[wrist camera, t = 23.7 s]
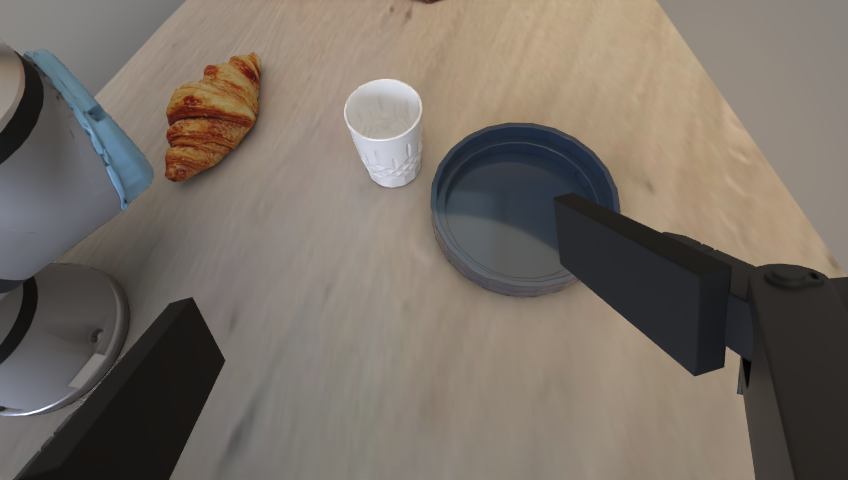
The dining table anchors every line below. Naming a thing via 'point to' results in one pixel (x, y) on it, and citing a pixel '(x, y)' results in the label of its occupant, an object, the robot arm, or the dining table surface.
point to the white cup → (387, 130)
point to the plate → (513, 205)
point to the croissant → (211, 116)
